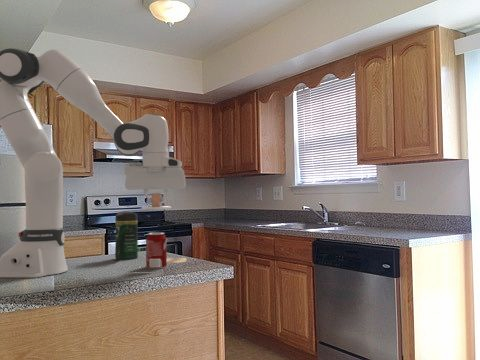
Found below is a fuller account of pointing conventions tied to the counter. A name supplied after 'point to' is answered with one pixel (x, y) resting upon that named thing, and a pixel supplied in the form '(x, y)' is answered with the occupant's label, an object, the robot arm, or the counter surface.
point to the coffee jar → (126, 236)
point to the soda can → (156, 250)
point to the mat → (176, 260)
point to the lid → (156, 203)
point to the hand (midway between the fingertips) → (156, 202)
